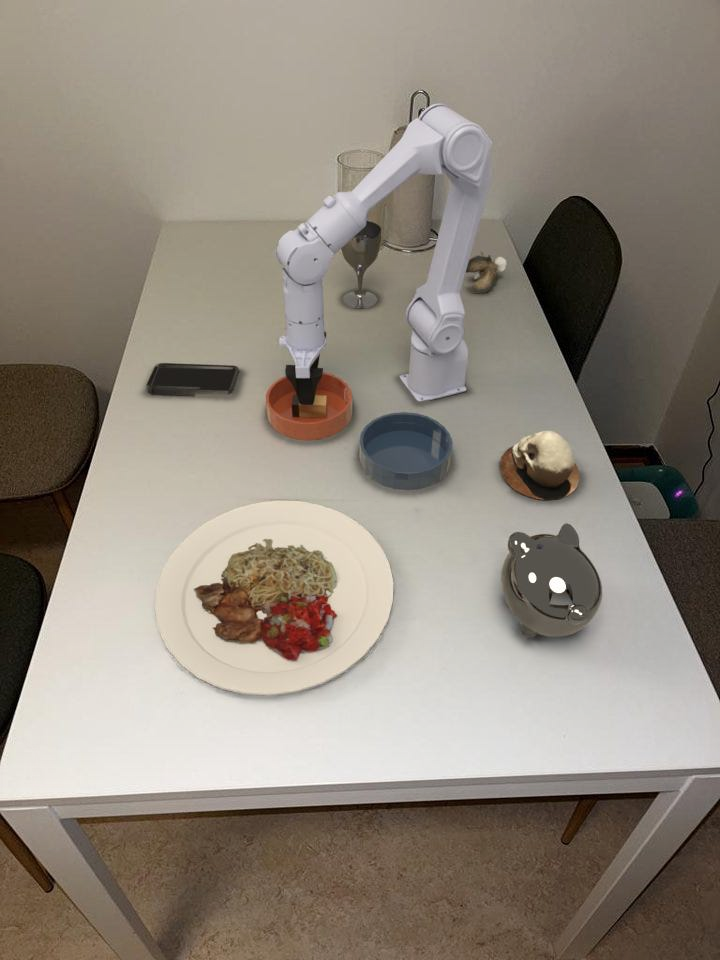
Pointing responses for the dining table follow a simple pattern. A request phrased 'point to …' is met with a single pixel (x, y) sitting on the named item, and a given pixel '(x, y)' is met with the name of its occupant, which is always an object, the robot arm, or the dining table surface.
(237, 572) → the plated food
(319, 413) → the tan block dark cap
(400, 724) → the dining table surface
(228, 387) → the phone
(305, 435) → the terracotta bowl
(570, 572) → the piggy bank
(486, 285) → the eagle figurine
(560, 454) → the skull
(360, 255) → the wine glass
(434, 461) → the slate bowl
